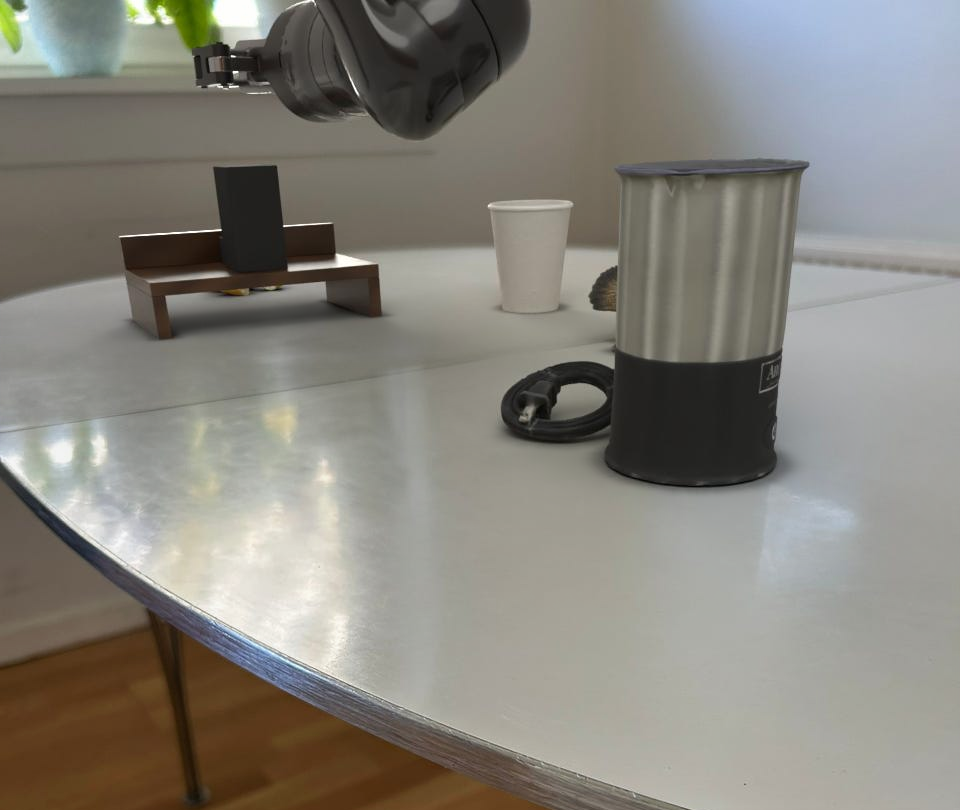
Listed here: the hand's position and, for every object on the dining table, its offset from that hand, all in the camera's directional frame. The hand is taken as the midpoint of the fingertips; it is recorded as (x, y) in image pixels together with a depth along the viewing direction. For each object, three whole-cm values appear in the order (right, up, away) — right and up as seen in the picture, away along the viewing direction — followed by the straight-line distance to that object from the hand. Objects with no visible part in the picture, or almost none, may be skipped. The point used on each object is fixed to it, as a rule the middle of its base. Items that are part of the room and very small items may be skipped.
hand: (268, 72), depth 80 cm
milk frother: (+26, -35, -24) cm, 49 cm away
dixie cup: (+22, -12, +21) cm, 33 cm away
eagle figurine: (+31, -21, +4) cm, 37 cm away
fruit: (-11, -5, +38) cm, 40 cm away
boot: (-5, -9, +18) cm, 21 cm away
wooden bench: (-5, -13, +20) cm, 25 cm away
